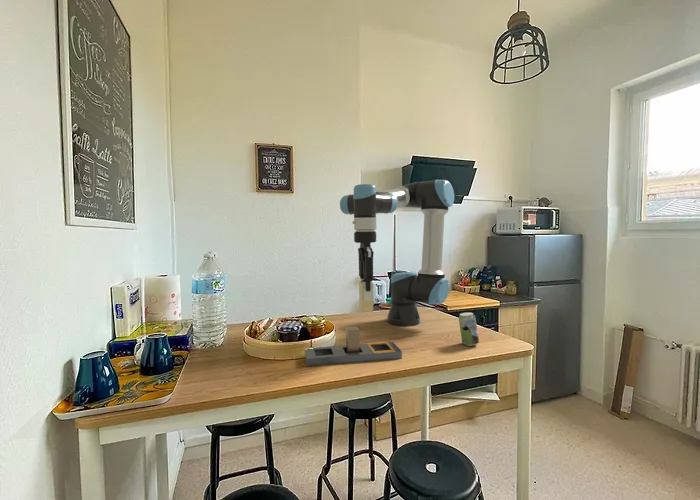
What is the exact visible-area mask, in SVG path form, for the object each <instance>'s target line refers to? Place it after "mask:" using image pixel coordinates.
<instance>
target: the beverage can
mask: <svg viewBox="0 0 700 500" xmlns="http://www.w3.org/2000/svg"><path fill="white" fill-rule="evenodd" d="M476 319H477V318H476V315H475V314H474V313H473V312H461V313H459V317H458V322H459V330H460V336H461V343H462V344H463V345H465V346H468V347H469V346H470V347H471V346H476V345H478V344H479V342H480V339H479V332H478V327H477V320H476Z"/></svg>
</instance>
